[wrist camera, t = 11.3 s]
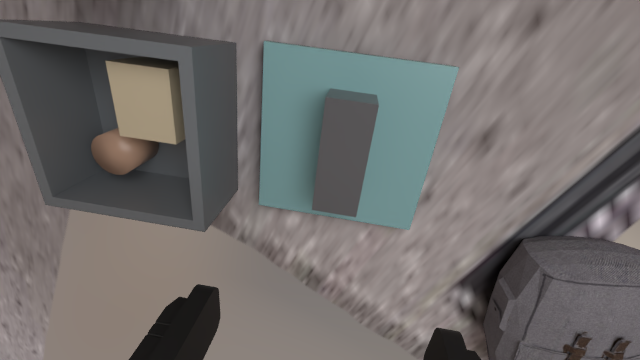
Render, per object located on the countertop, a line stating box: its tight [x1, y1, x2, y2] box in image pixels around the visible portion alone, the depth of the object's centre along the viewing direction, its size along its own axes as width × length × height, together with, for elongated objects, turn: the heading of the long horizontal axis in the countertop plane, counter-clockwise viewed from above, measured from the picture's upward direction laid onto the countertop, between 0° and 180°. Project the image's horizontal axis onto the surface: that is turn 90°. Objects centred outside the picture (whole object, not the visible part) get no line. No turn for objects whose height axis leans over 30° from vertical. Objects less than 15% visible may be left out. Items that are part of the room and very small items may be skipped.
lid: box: [259, 41, 459, 230], centre depth 27 cm, size 16×16×6 cm
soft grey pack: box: [483, 236, 640, 360], centre depth 32 cm, size 15×8×20 cm
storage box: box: [0, 19, 238, 232], centre depth 27 cm, size 15×15×8 cm
